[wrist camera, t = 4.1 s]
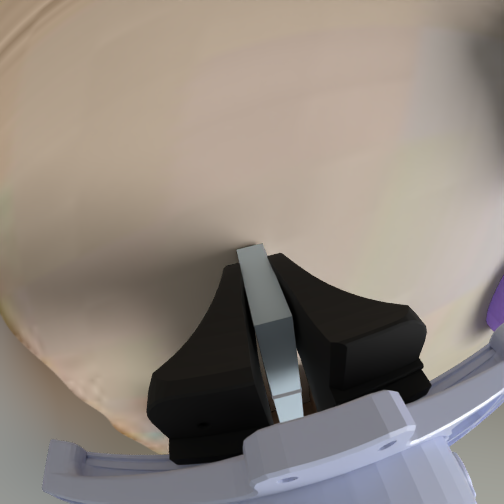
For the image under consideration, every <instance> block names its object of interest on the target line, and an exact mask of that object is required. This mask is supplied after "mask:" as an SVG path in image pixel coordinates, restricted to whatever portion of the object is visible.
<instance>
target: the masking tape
mask: <svg viewBox="0 0 504 504" xmlns="http://www.w3.org/2000/svg"><path fill="white" fill-rule="evenodd" d="M486 322H487V324H488V326H489V327H490V328H491V329H492V330H493V331H495V330H496V329H497V328H498V327H499V326H500V325H501V324H503V323H504V275H503V277H502V279H501V281H500V283H499V285H498V287H497V289H496V291H495V293H494V295H493V298H492V300H491V303H490V305H489V308H488V312H487V318H486Z"/></svg>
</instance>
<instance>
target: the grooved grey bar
mask: <svg viewBox="0 0 504 504" xmlns="http://www.w3.org/2000/svg"><path fill="white" fill-rule="evenodd" d="M237 255H238V259H239V263H240V267H241V271H242V276H243V281H244V285H245V290H246V294H247V298H248V303H249V307H250V311H251V316H252V320H253V324H254V328H255V332H256V336H257V340H258V343H259V347H260V352H261V356H262V360H263V364H264V368H265V372H266V376H267V380H268V384H269V388H270V392H271V396H272V400H273V399H274V403H275V406H276V410H277V414H278V417H279V421H280V423H281V422H285V421H289V420H293V419H297V418H300V417H304V416H303V406H302V396H301V392H302V387H301V384H300V377H299V368H298V359H297V350H296V342H295V334H294V326H293V318H292V314H291V312H290V309H289V307H288V304H287V302H286V299H285V297H284V295H283V292H282V290H281V287H280V285H279V282H278V280H277V278H276V275H275V273H274V271H273V270H272V267H271V265H270V263H269V260H268V258H267V253H266V251H265V249H264V246H263V244H258V245H253V246H249V247H245V248H241V249H237Z"/></svg>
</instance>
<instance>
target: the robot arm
mask: <svg viewBox="0 0 504 504" xmlns="http://www.w3.org/2000/svg"><path fill="white" fill-rule="evenodd" d="M267 258H268V260H269V263H270V265H271V267H272V270H273V271H274V273H275V275H276V278H277V280H278V282H279V285H280V287H281V290H282V292H283V295H284V297H285V299H286V302H287V304H288V307H289V309H290V312H291V314H292V318H293V326H294V334H295V342H296V348H297V351H298V353H299V356H300V358H301V361H302V364H303V367H304V370H305V373H306V376H307V380H308V383H309V386H310V389H311V392H312V395H313V399H314V402H315V405H316V409H317V413H314V414H311V415H307V416H304V417H300V418H297V419H293V420H289V421H285V422H281V423H277V424H274V423H273V419H272V415H271V411H270V407H269V403H268V399H267V395H266V391H265V387H264V383H263V379H262V374H261V370H260V365H259V359H258V352H257V344H256V336H255V328H254V324H253V320H252V316H251V311H250V307H249V303H248V298H247V294H246V290H245V285H244V281H243V276H242V271H241V267H240V263H237V264H232V265H228V266H225V268H224V270H223V274H222V278H221V281H220V284H219V287H218V289H217V292H216V295H215V297H214V299H213V301H212V303H211V305H210V307H209V309H208V311H207V313H206V315H205V317H204V318H203V320H202V321H201V323H200V325H199V326H198V328H197V329H196V330H195V332H194V333H193V334H192V336H191V337H190V338H189V340H188V341H187V342H186V343H185V344H184V345H183V346H182V347H181V349H180V350H179V351H178V352H177V353H176V354H175V355H174V356H173V357H171V358H170V359H169V360H168V361H167V362H166V363H165V364H163V365H162V366H161V367H160V368H159V369H158V370H156V371H155V372H154V373H153V374H152V378H151V382H150V386H149V391H148V401H147V416H148V418H149V420H150V421H151V422H152V423H153V424H154V425H155V426H156V427H157V428H158V429H159V430H160V431H161V432H162V433H163V434H165V435H166V436H167V437H168V438H169V454H167V455H124V454H107V453H95V452H86V451H85V450H84V449H83V448H82V447H80V446H79V445H77V444H75V443H72V442H68V441H61V440H55V439H52V440H50V444H49V449H48V454H47V460H46V465H45V471H44V478H43V484H42V490H43V491H44V492H46V493H48V494H50V495H52V496H54V497H56V498H59V499H61V500H63V501H65V502H67V503H70V504H477V502H476V500H475V497H476V493H475V491H474V488H473V486H472V481H471V479H470V476H469V474H468V472H467V470H466V468H465V466H464V464H463V462H462V461H461V459H460V457H459V456H458V454H457V453H456V452H451V450H450V448H449V446H451V445H452V444H454V443H455V442H456V441H458V440H459V439H461V438H462V437H463V436H465V435H466V434H467V433H468V432H470V431H471V430H472V429H473V428H475V427H476V426H477V425H478V424H480V423H481V422H482V421H483V420H484V419H485V418H487V417H488V416H489V415H490V414H491V413H492V412H493V411H495V410H496V409H497V408H498V407H499V406H500V405H501V404H502V403H503V402H504V323H503V324H501V325H500V326H499V327H498V328H497V329H496V330H495V331H494V333H493V335H492V336H491V339H490V341H489V343H488V344H487V345H486V346H484V347H483V348H482V349H480V350H479V351H477V352H476V353H474V354H473V355H471V356H470V357H468V358H467V359H465V360H464V361H462V362H461V363H459V364H458V365H456V366H455V367H453V368H451V369H450V370H448V371H446V372H445V373H443V374H441V375H440V376H438V377H436V378H434V379H433V380H431V381H429V380H428V379H427V377H426V375H425V374H424V372H423V371H422V370H421V369H423V367H424V366H423V363H422V362H421V360H420V359H419V355H420V353H421V350H422V347H423V345H424V342H425V338H426V333H427V330H426V326H425V324H424V323H423V322H422V321H421V319H420V318H419V317H418V315H417V314H416V313H415V312H414V311H413V310H412V309H411V308H410V307H409V306H408V305H401V304H393V303H386V302H381V301H376V300H372V299H368V298H364V297H360V296H357V295H354V294H351V293H348V292H346V291H343V290H340V289H338V288H336V287H334V286H331V285H329V284H327V283H325V282H323V281H321V280H320V279H318V278H316V277H314V276H313V275H311V274H310V273H308V272H307V271H305V270H304V269H302V268H301V267H299V266H298V265H297V264H295V263H294V262H293V261H291V260H290V259H289V258H287V257H286V256H285V255H284V254H282V253H278V254H274V255H270V256H267Z"/></svg>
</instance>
